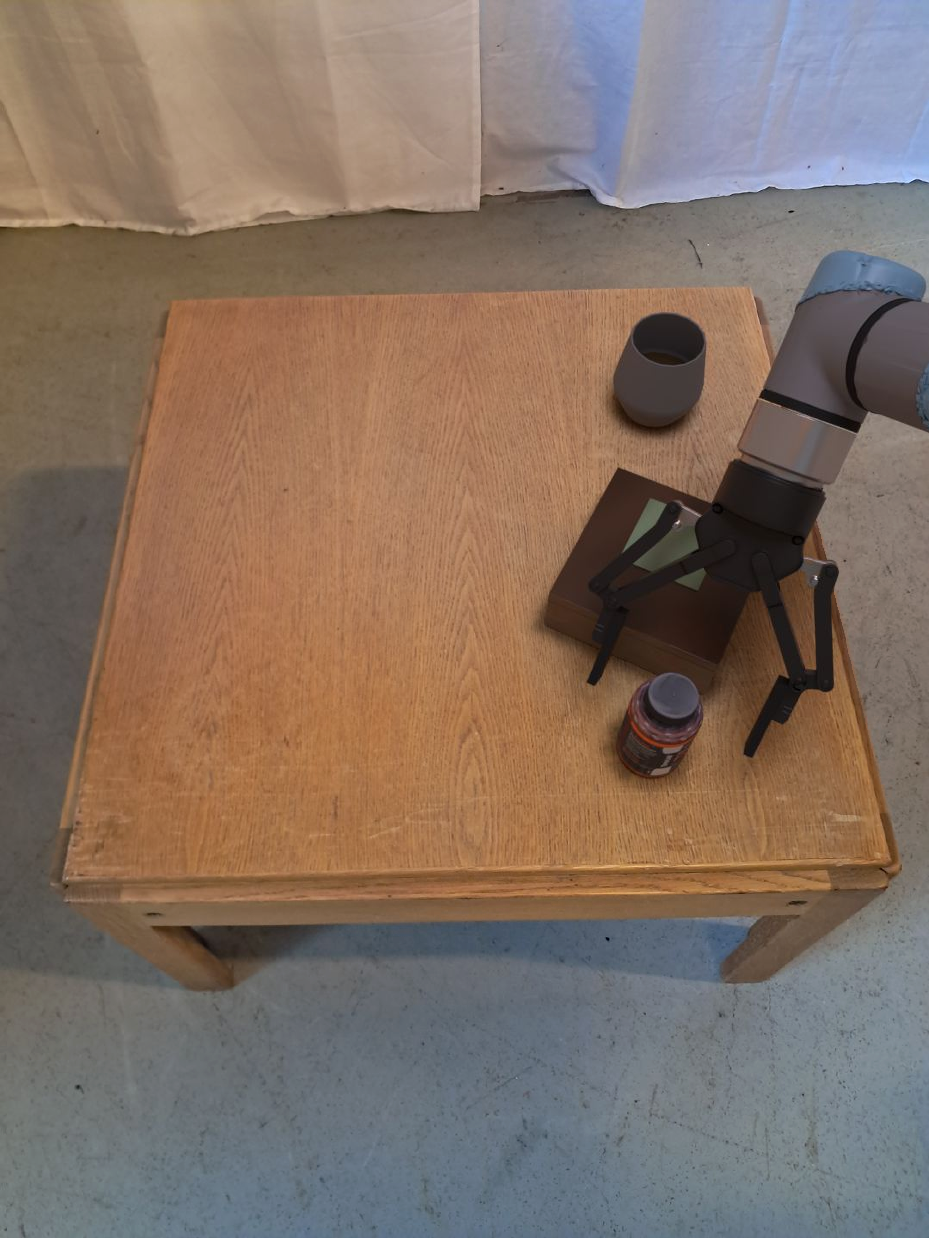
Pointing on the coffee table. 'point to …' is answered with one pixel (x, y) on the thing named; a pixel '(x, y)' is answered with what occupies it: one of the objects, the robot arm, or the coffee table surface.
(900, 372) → the robot arm
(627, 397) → the cup
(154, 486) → the coffee table surface
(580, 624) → the dark wooden box
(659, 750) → the supplement bottle
